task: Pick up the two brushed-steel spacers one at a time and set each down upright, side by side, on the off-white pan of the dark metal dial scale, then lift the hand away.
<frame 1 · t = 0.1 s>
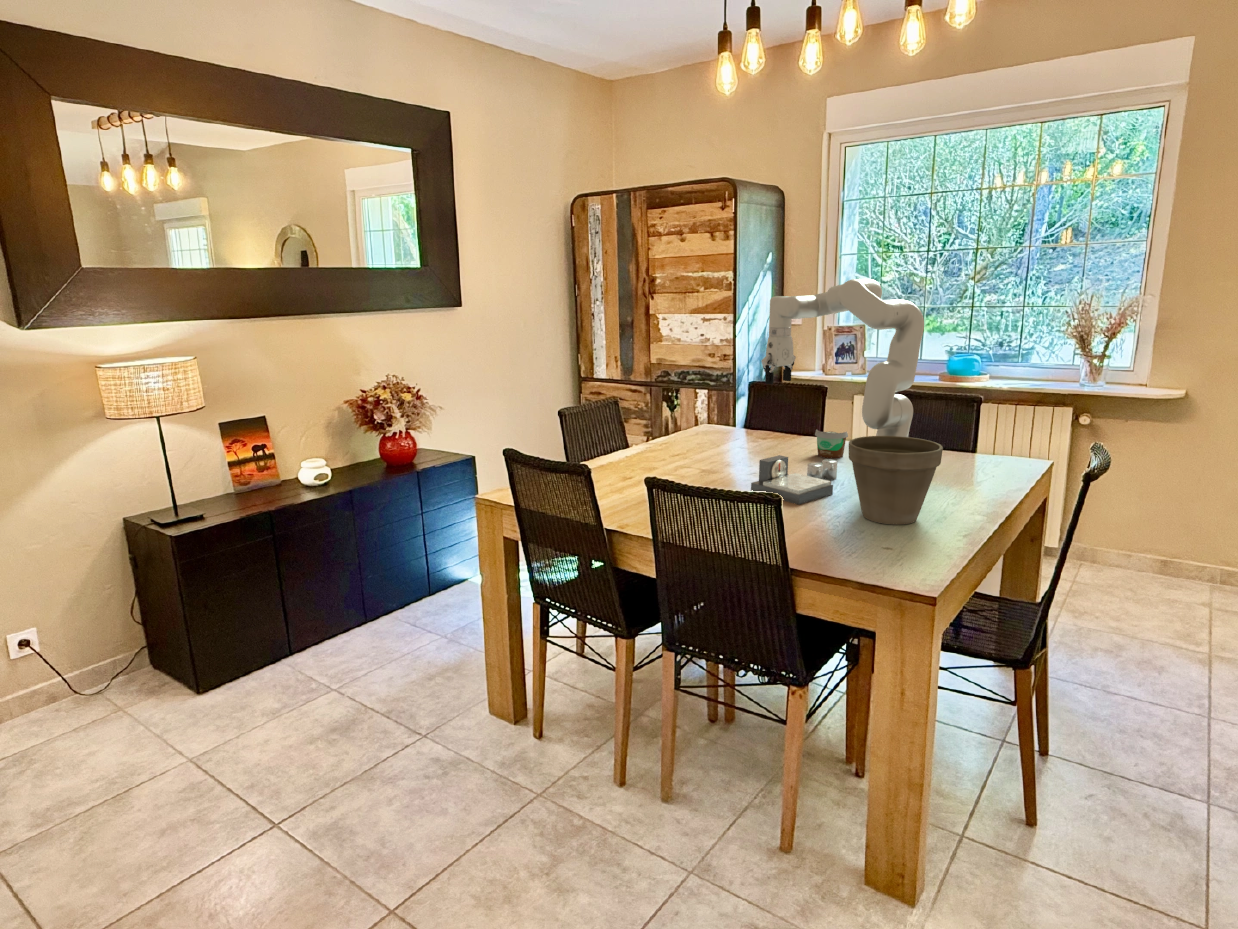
hand: (778, 382, 263), 31 cm above the table, tool pointing down, fingers open, 9 cm apart
food container: (828, 457, 285), on the table
dial scale: (791, 493, 239), on the table
plant pot: (889, 517, 214), on the table
steel spacer A: (814, 482, 251), on the table
steel spacer B: (828, 478, 256), on the table
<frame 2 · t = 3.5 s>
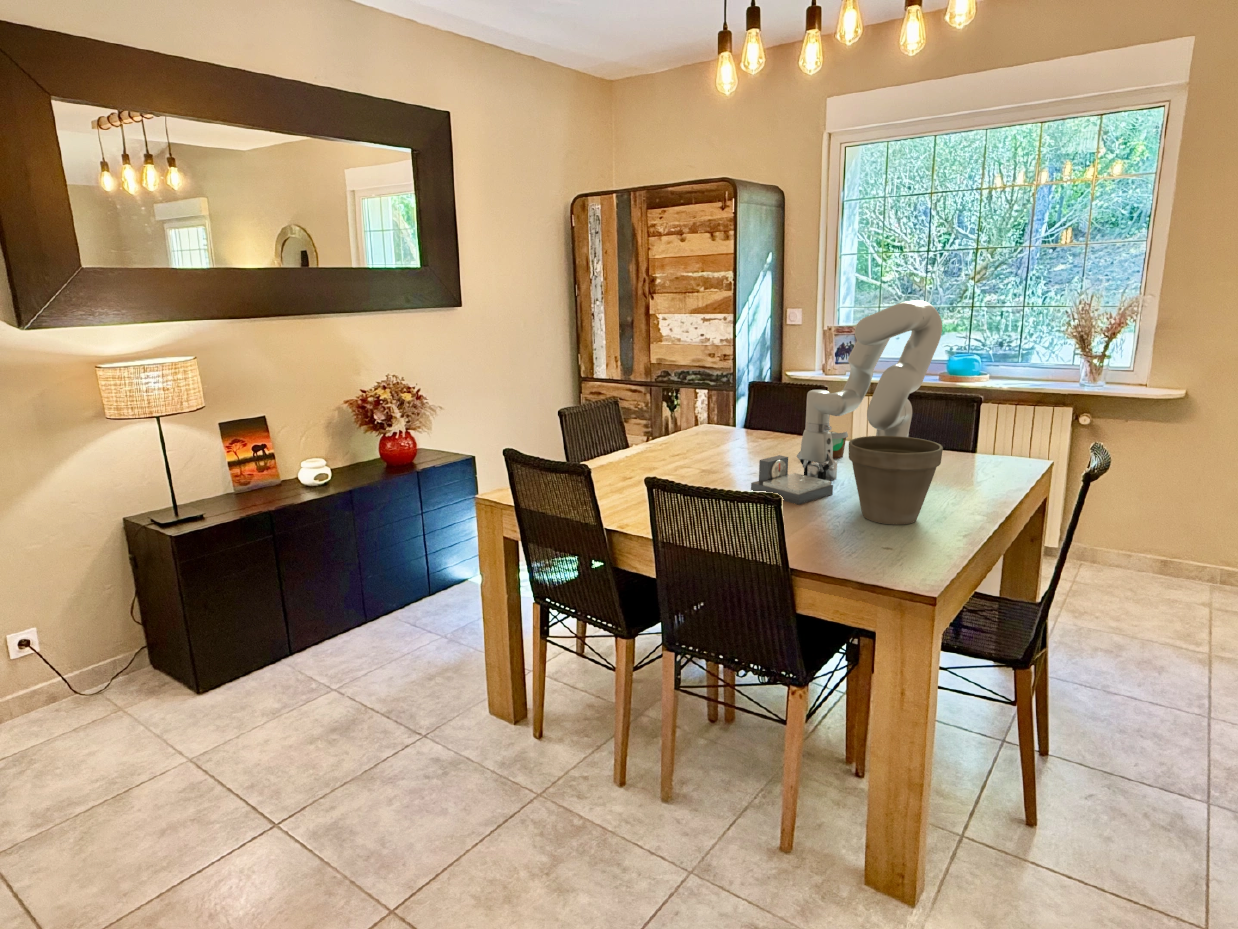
hand: (814, 480, 251), 1 cm above the table, tool pointing down, fingers closed on steel spacer A, 5 cm apart
steel spacer A: (814, 482, 251), on the table, touching gripper
everything else where it was.
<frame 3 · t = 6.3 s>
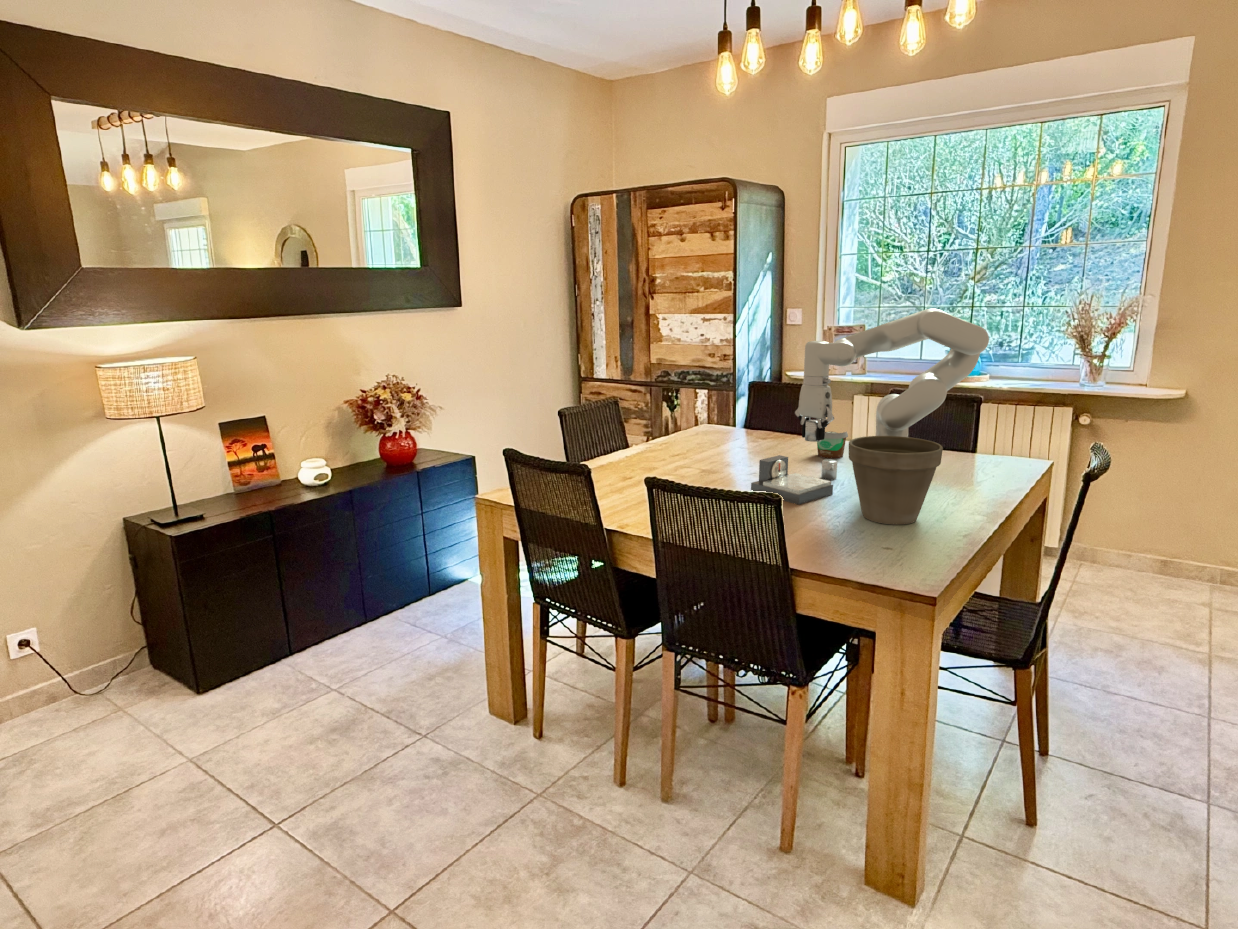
hand: (813, 437, 238), 17 cm above the table, tool pointing down, fingers closed on steel spacer A, 5 cm apart
steel spacer A: (812, 439, 238), point 17 cm above the table, touching gripper
everything else where it was.
when the fingers open (6 cm above the table, at t = 9.1 s): steel spacer A drops 1 cm, resting on dial scale.
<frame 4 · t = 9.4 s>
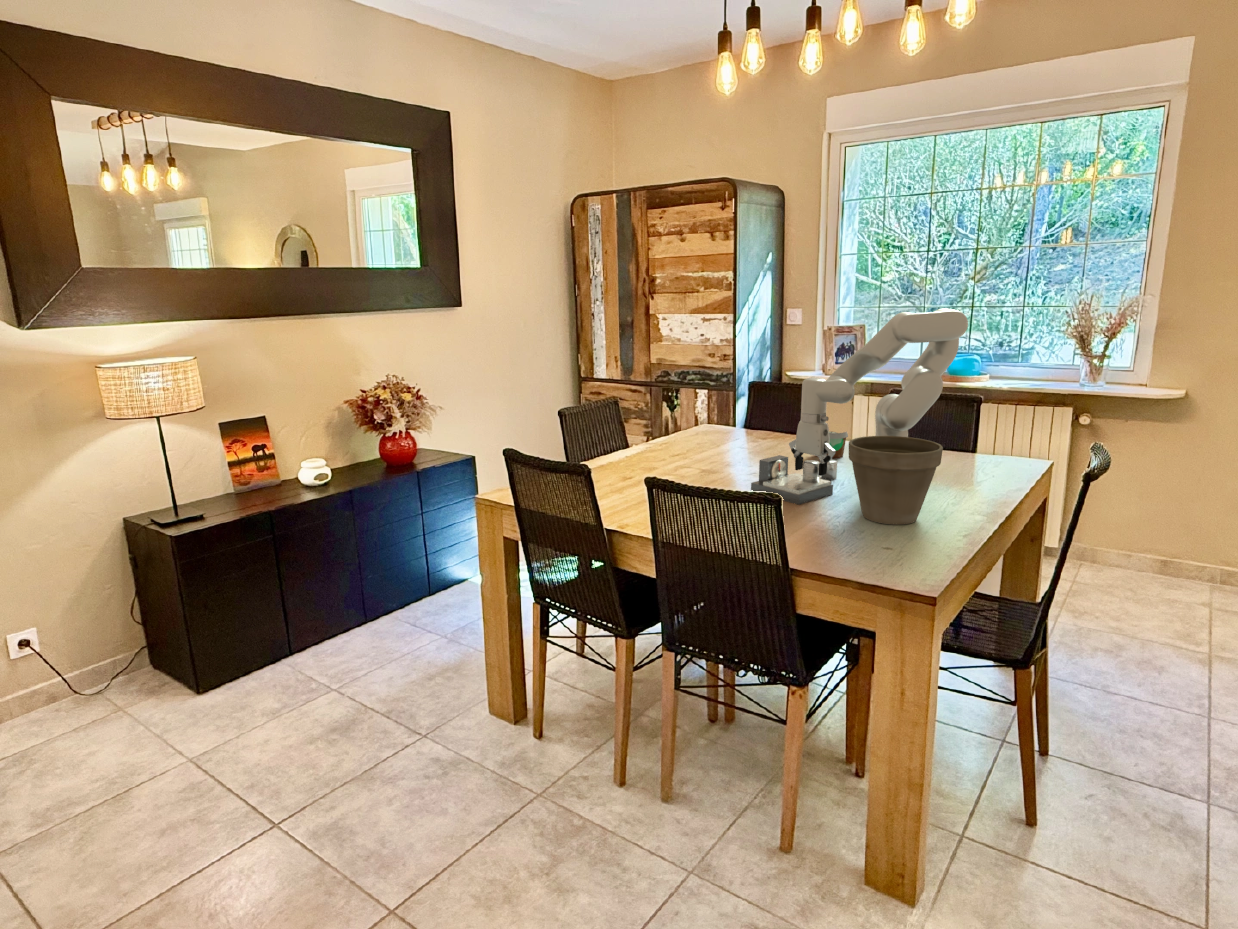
hand: (810, 472, 237), 7 cm above the table, tool pointing down, fingers open, 8 cm apart
steel spacer A: (810, 480, 238), point 4 cm above the table, touching dial scale
everything else where it was.
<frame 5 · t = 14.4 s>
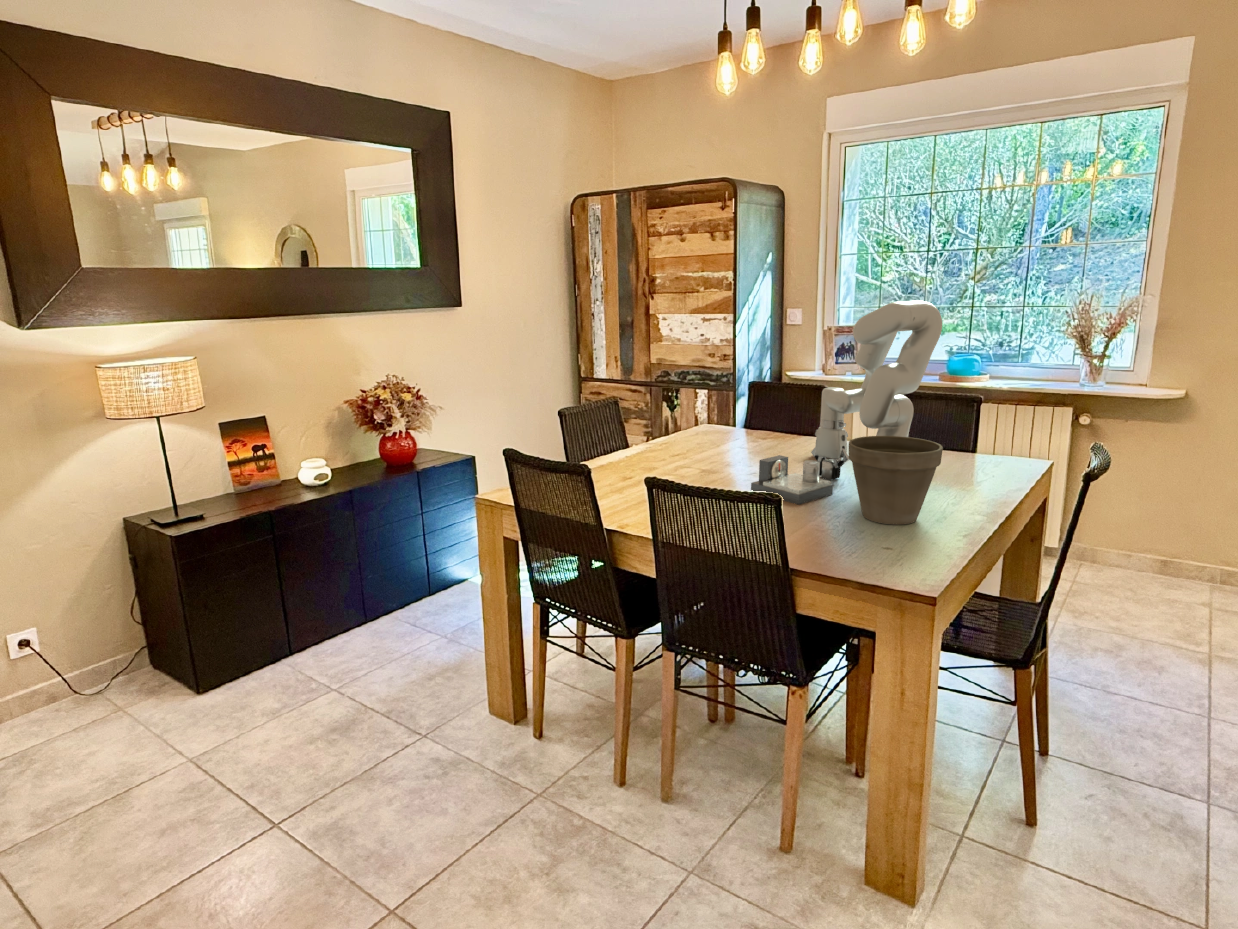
hand: (828, 476, 256), 1 cm above the table, tool pointing down, fingers closed on steel spacer B, 5 cm apart
steel spacer B: (828, 478, 256), on the table, touching gripper
everything else where it was.
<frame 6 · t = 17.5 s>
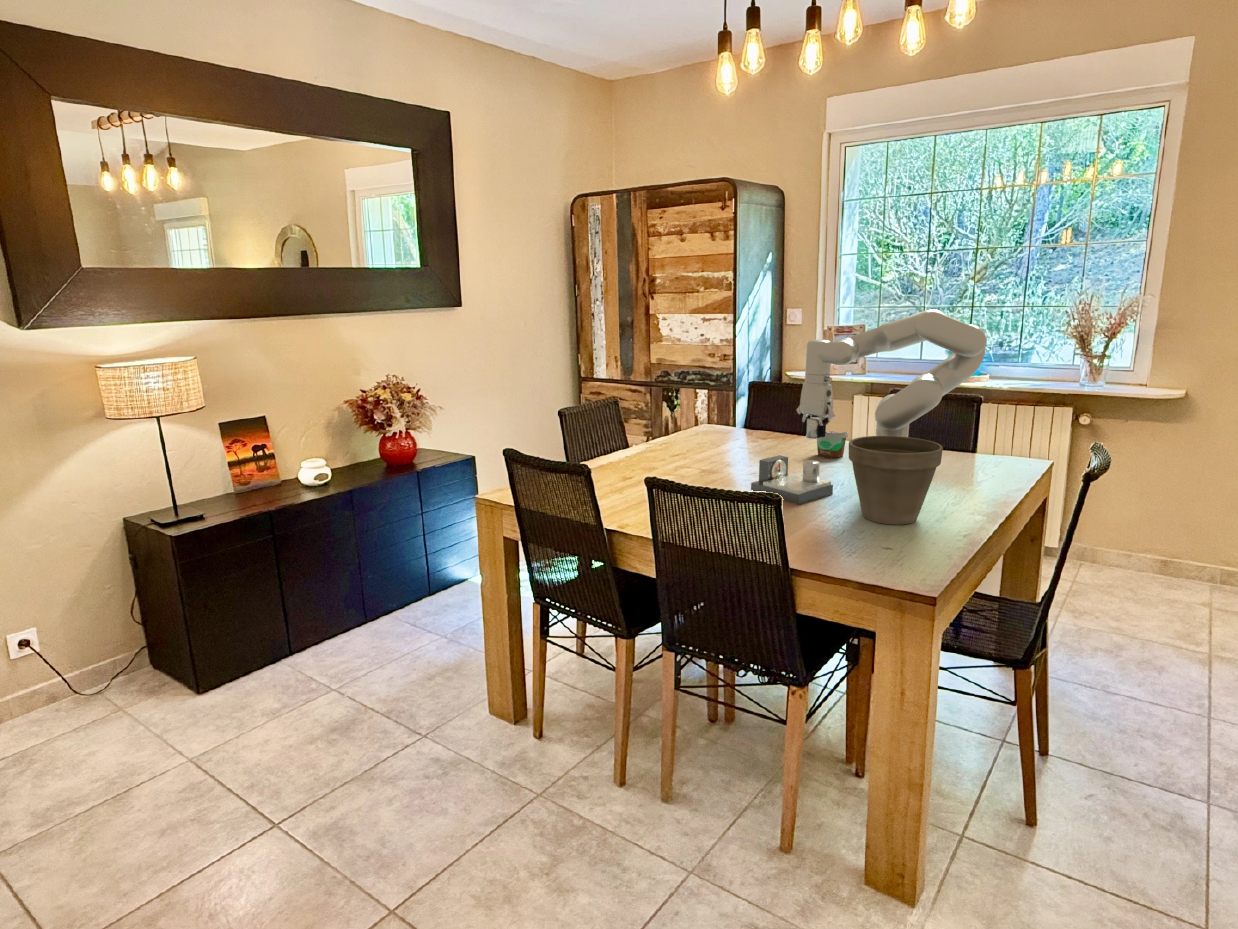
hand: (814, 435, 241), 17 cm above the table, tool pointing down, fingers closed on steel spacer B, 5 cm apart
steel spacer B: (813, 437, 241), point 17 cm above the table, touching gripper
everything else where it was.
when the fingers open (6 cm above the table, at t = 20.9 s): steel spacer B drops 1 cm, resting on dial scale.
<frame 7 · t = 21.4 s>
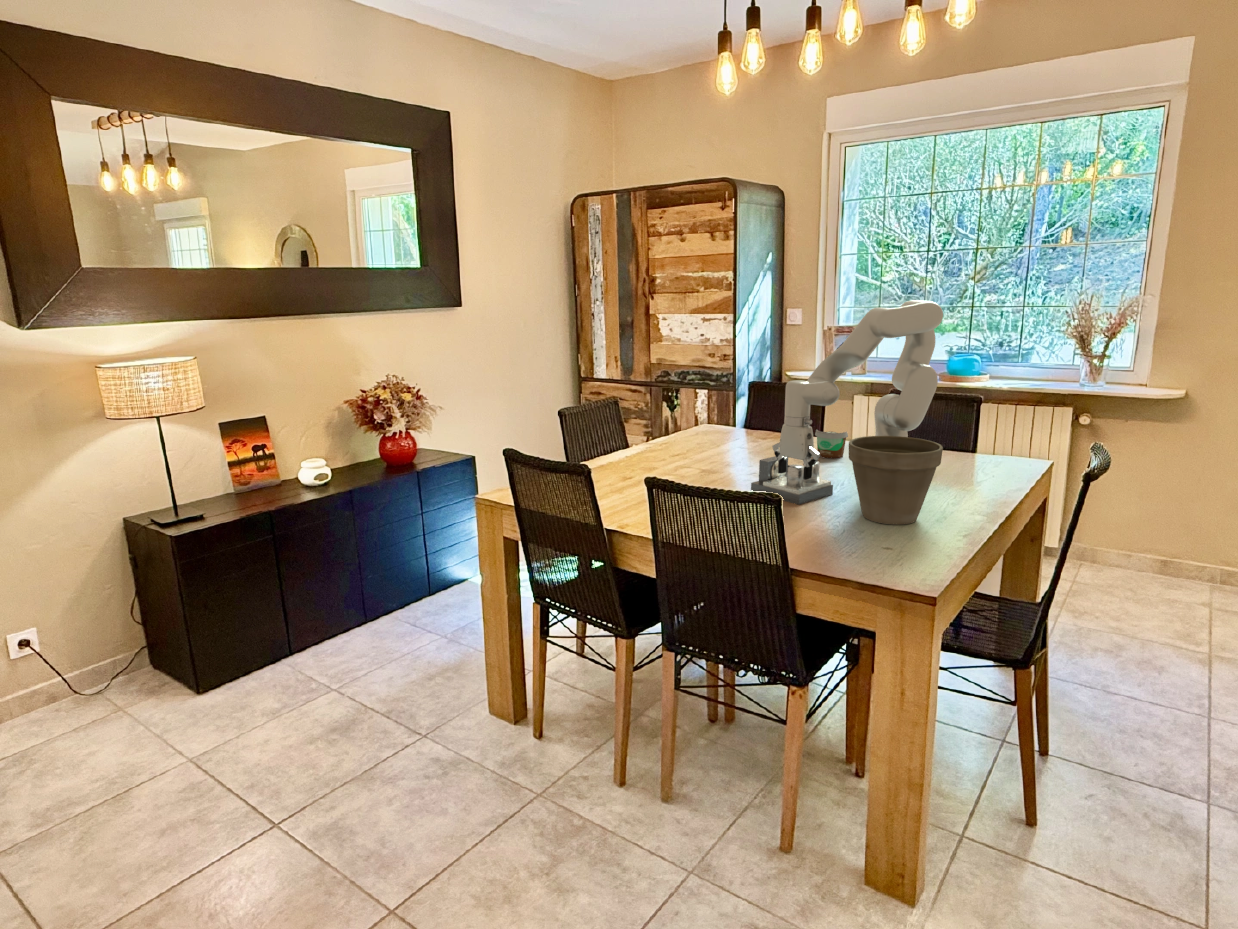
hand: (794, 475, 232), 7 cm above the table, tool pointing down, fingers open, 9 cm apart
steel spacer B: (794, 485, 233), point 4 cm above the table, touching dial scale
everything else where it was.
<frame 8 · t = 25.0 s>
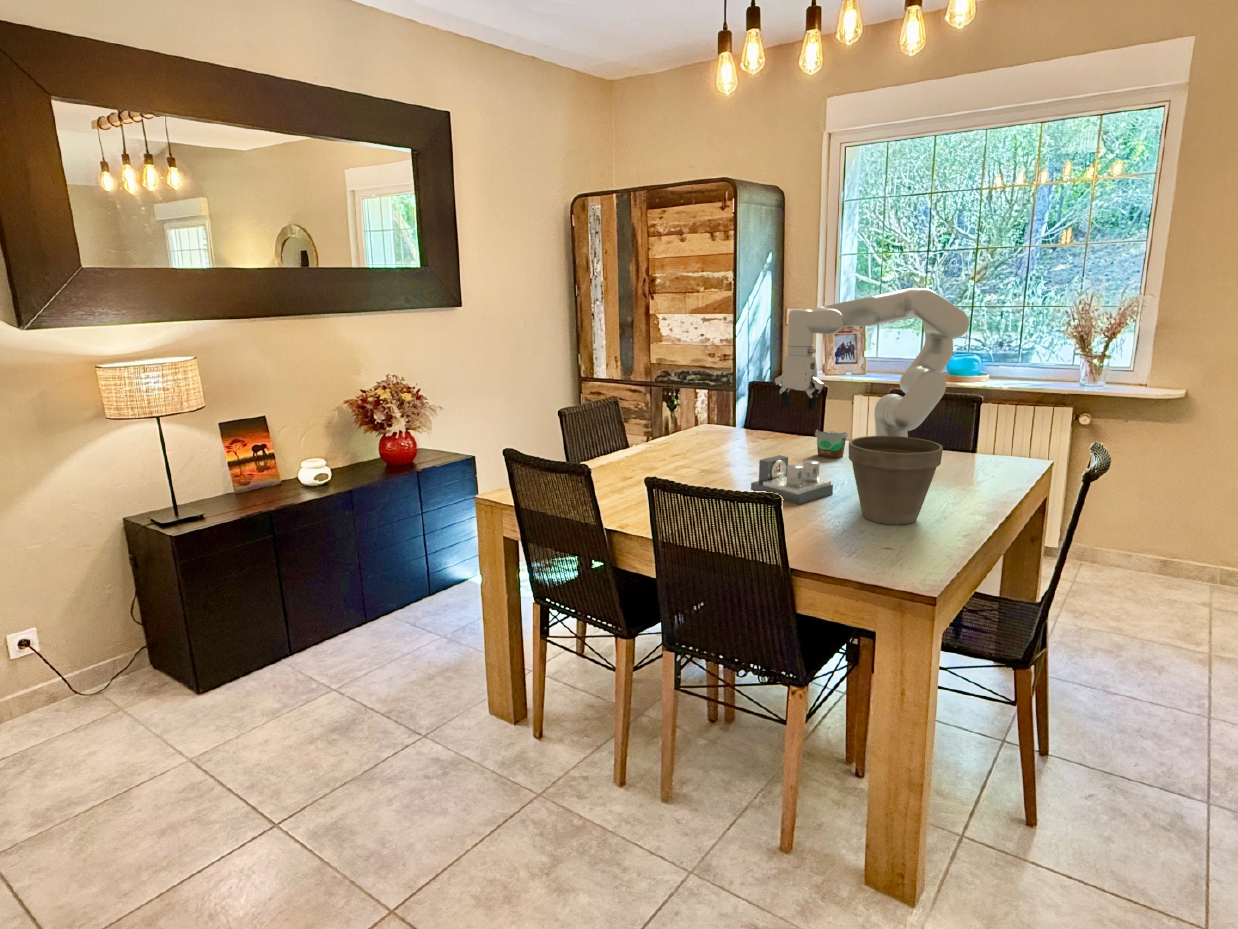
hand: (797, 408, 227), 28 cm above the table, tool pointing down, fingers open, 9 cm apart
nothing on the table moved.
at the end: steel spacer A inside the target area on the dial scale (0.5 cm from its centre), point 4.2 cm above the dial scale's base; steel spacer B inside the target area on the dial scale (0.6 cm from its centre), point 4.2 cm above the dial scale's base; steel spacer B tilted 0° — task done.
